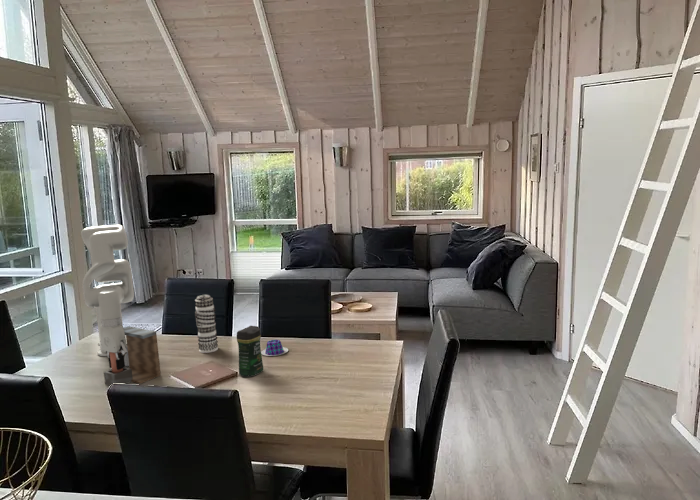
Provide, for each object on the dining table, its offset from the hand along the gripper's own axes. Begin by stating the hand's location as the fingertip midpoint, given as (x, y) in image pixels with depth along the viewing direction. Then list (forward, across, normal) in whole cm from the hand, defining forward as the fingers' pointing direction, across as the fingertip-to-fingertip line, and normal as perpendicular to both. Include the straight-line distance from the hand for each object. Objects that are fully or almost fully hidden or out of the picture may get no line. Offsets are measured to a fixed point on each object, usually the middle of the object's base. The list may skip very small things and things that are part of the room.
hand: (117, 367), depth 213 cm
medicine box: (+7, -17, +14) cm, 23 cm away
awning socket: (+6, 0, +5) cm, 8 cm away
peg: (+3, 0, 0) cm, 3 cm away
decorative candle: (+6, +2, +44) cm, 45 cm away
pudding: (+7, +32, +54) cm, 64 cm away
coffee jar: (+6, +41, +31) cm, 52 cm away
